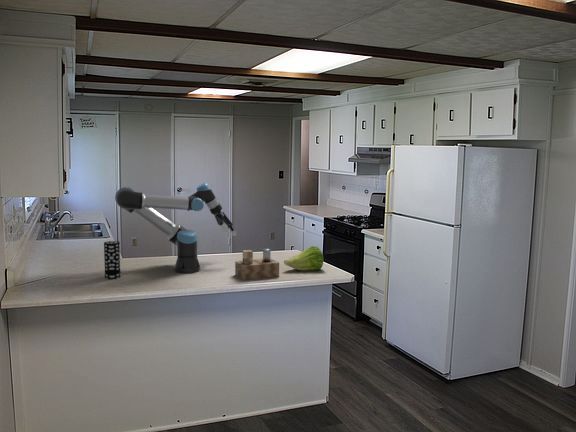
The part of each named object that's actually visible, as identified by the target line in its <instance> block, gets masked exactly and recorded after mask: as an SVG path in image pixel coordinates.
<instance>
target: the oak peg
mask: <svg viewBox="0 0 576 432" xmlns="http://www.w3.org/2000/svg"><path fill="white" fill-rule="evenodd" d="M253 260H254V251H253V250H250V249H248V250H247V249H244V250H242V261H243V263H244V264H253Z"/></svg>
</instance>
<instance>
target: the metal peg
mask: <svg viewBox="0 0 576 432" xmlns="http://www.w3.org/2000/svg"><path fill="white" fill-rule="evenodd" d="M271 256H272V255H271V248H263V249H262V259H263V262H270V259H272V258H271Z"/></svg>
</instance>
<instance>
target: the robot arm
mask: <svg viewBox="0 0 576 432" xmlns="http://www.w3.org/2000/svg"><path fill="white" fill-rule="evenodd" d="M114 199H115V202H116V204H117V206H118V207H120V208H121V209H123V210H125V211H127V212H129V214H135V215H137V216H139V217H140V218H141V219H143V221H146V222H147V223H148V224H149V225H151V226H152V227H153V228H155V229H156V230H157V231H159V232H161V233H163V234H164V235H165V236H166V237H167V240H168V241H169V242H170V243H172V244H173V245H175V246H176V248H177V252H176V254H177V255H176V256H177V257H176V261H175V265H174V272H176V273H181V274H191V273H192V274H193V273H197V272H199V271H201V264H200V262H199V259H198V234H197V233H198V232H196V231H195V230H191V229H187V228H185V227H184V226H182V225H181V224H179V223H178V224H175V223H174V222H173V221H171V220H170V219H169V218H167V217H166V216H164V215H163V214H161V213H160V212H159V211H157V210H156V209H161V210H162V209H164V210H180V211H185V210H186V211H187V212H190V211H194V212H200V211H203V209H204V206H205V205H206V207H207V209H209V211H210V213H211V215H213V216H214V218H215V220H216V223H217V225H219V227H220V228H221V230H222V231H223V234H225V235H227V234H229V233H231V235H232V237H235V236H236V235H237V234H238V233H237V231H236V229H235V228H234V227H233V224H234V223H232V221H231V219H229V218H228V216H227V215H226V214H225V212H224V211H222V210H223V206H222V205H221V203H220V202H219V201H218V198H217V197H216V195H215V193H214V192H213V190H212V188H211V187H210V185H209V184H208V183H206V182H204V183H202V184H199V185H198V186H197V187H196V192H194V193H193V194H191V195H189V196H174V195H173V196H172V195H157V194H145V193H143V192H138V191H135V190H133V189H132V188H130V187H126V186H125V187H121V188H119V189H118V190H117V192H116V193H115V196H114Z"/></svg>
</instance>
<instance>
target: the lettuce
mask: <svg viewBox="0 0 576 432" xmlns="http://www.w3.org/2000/svg"><path fill="white" fill-rule="evenodd" d="M324 261H325V260H324V254H323V252H322V250H321V249H320V248H319V247H318V246H314V245H313V246H310V247H308V248H306V249H305V250H303V251H301V252H300V253H298V254H296V255H295V254H294V255H293V256H290V257H289V258H286V259H283V264H284V265H285V266H287V267H290V268H292V269H295V270H297V271H301V272H302V271H303V272H307V271H309V272H310V271H311V272H312V271H313V272H314V271H318V270H321V269H322V268H323V265H324Z"/></svg>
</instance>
